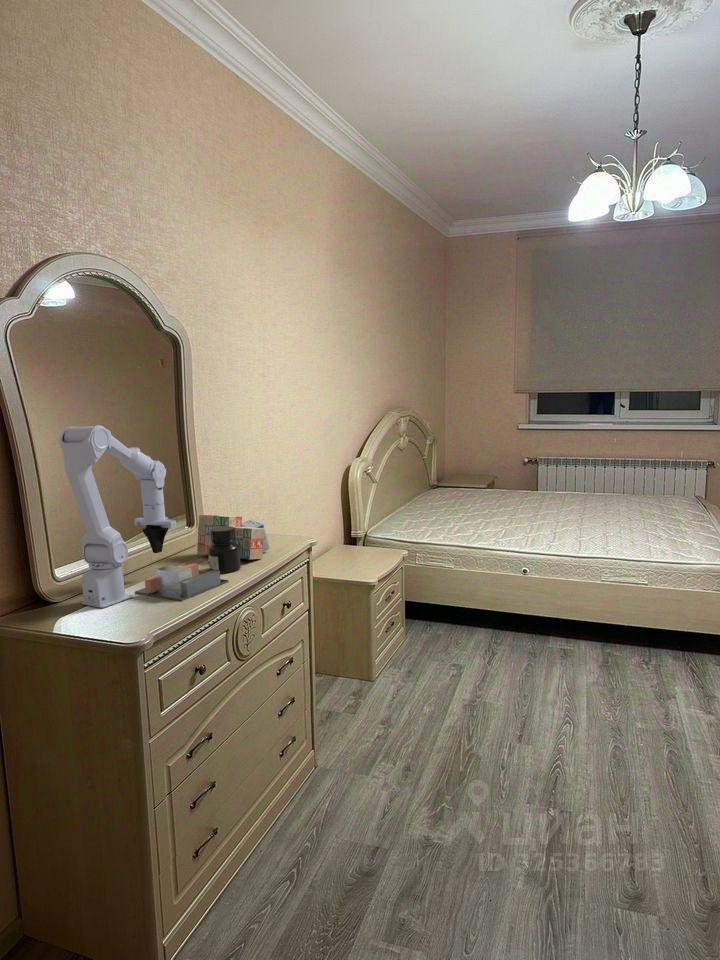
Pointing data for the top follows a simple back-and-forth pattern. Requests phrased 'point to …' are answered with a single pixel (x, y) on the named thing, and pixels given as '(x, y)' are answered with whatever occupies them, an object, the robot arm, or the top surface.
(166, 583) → the steel block
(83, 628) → the top surface
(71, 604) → the top surface
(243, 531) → the stack of blocks
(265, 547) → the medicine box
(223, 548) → the ink bottle
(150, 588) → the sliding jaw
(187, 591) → the vise bed
